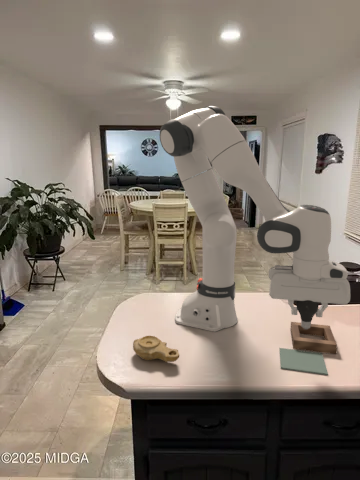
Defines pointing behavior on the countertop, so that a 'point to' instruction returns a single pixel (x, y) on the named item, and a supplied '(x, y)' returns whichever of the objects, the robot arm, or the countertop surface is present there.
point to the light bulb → (307, 312)
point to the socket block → (313, 344)
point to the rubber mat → (302, 361)
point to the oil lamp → (154, 349)
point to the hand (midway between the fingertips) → (306, 315)
